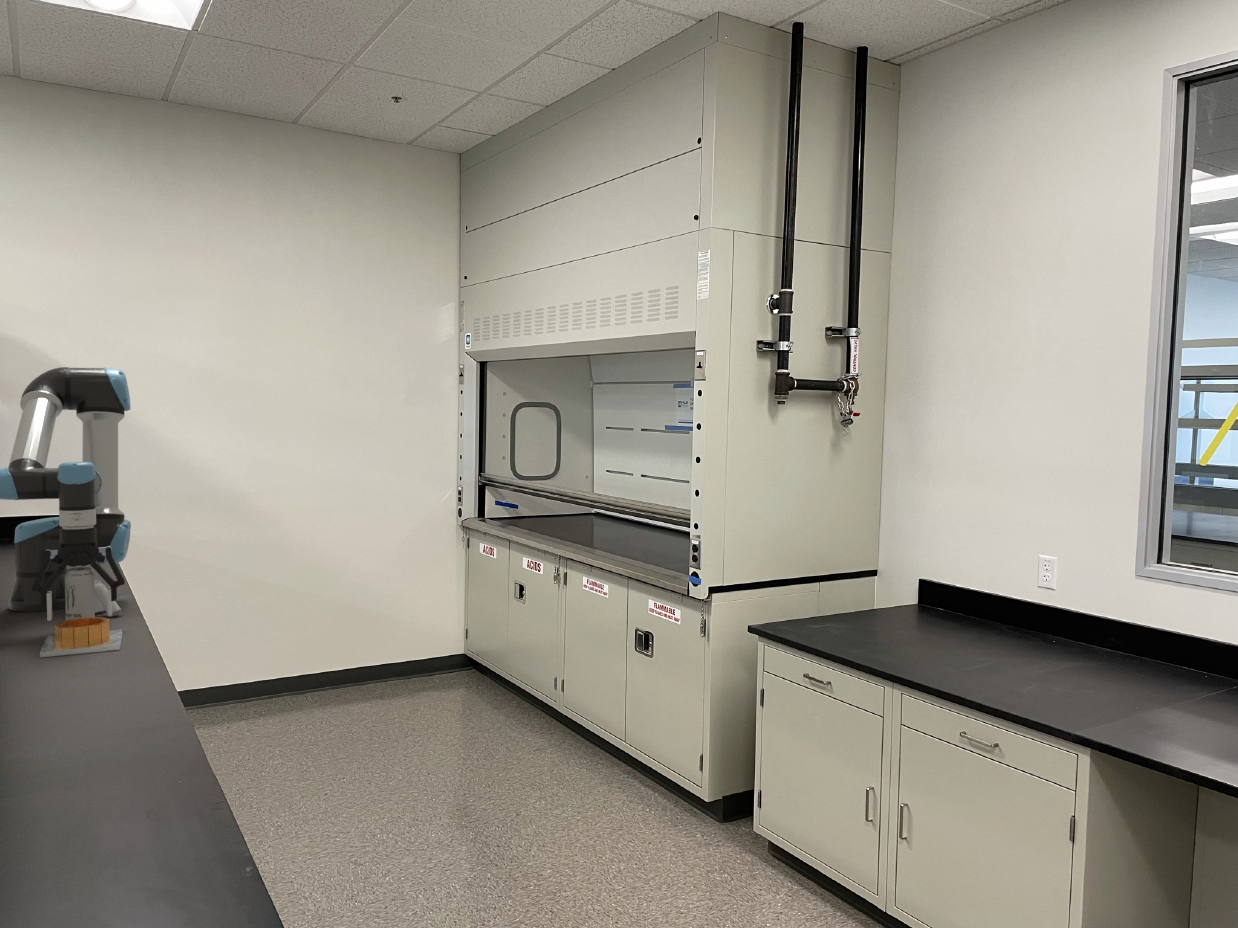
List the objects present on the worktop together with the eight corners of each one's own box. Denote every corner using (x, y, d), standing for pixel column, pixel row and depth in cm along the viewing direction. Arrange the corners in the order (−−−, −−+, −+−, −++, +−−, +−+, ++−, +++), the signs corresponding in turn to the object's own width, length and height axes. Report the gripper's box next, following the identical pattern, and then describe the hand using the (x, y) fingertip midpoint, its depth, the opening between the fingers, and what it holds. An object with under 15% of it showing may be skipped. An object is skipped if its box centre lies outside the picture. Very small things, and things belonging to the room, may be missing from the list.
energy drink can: (60, 632, 216) (58, 569, 215) (83, 626, 221) (81, 565, 220) (78, 634, 213) (76, 571, 212) (101, 629, 219) (99, 567, 218)
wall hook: (108, 618, 228) (99, 579, 227) (74, 625, 230) (65, 586, 230) (131, 611, 236) (123, 573, 235) (98, 618, 238) (90, 581, 238)
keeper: (47, 640, 208) (47, 618, 208) (122, 634, 215) (121, 612, 214) (40, 657, 195) (39, 633, 194) (119, 649, 201) (119, 626, 201)
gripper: (15, 531, 207) (18, 625, 208) (134, 526, 218) (136, 615, 219) (20, 527, 214) (22, 618, 215) (135, 522, 224) (137, 609, 226)
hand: (80, 617), depth 217 cm, fingers open, 12 cm apart
